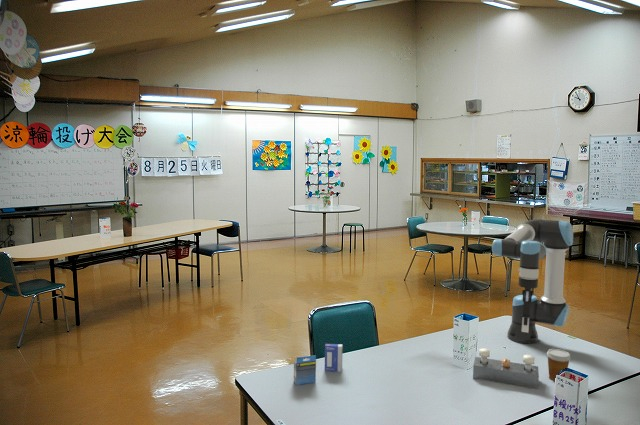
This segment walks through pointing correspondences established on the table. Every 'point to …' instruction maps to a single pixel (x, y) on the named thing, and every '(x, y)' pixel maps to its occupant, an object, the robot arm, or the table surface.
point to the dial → (505, 363)
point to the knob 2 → (528, 362)
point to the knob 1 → (484, 355)
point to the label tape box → (305, 370)
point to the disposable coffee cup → (557, 361)
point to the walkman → (333, 357)
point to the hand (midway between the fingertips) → (524, 331)
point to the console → (506, 373)
